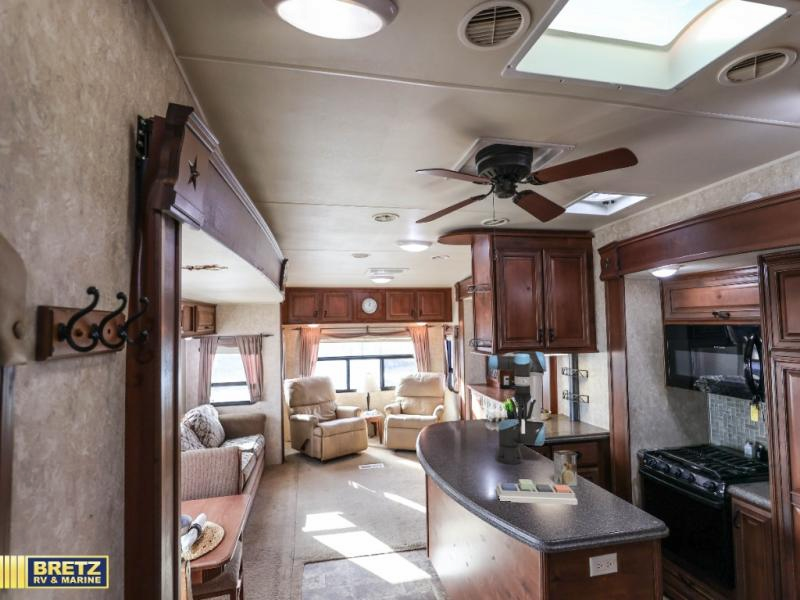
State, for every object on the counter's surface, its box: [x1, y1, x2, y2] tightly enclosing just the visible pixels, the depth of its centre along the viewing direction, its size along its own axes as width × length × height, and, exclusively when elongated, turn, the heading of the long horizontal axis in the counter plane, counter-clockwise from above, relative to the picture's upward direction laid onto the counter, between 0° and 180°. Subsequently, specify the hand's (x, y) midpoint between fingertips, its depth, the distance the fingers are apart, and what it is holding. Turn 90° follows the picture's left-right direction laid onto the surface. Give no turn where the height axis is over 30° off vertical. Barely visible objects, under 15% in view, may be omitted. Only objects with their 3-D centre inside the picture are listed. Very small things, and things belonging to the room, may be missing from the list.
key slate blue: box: [501, 482, 516, 491], centre depth 200 cm, size 6×6×2 cm
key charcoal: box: [535, 483, 552, 492], centre depth 198 cm, size 6×6×2 cm
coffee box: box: [553, 449, 578, 487], centre depth 215 cm, size 9×6×16 cm
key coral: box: [553, 484, 570, 493], centre depth 198 cm, size 6×6×2 cm
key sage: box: [518, 478, 535, 490], centre depth 199 cm, size 6×6×2 cm
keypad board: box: [495, 482, 579, 506], centre depth 198 cm, size 13×34×4 cm, turn 85°
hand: (522, 432), depth 212 cm, fingers closed
